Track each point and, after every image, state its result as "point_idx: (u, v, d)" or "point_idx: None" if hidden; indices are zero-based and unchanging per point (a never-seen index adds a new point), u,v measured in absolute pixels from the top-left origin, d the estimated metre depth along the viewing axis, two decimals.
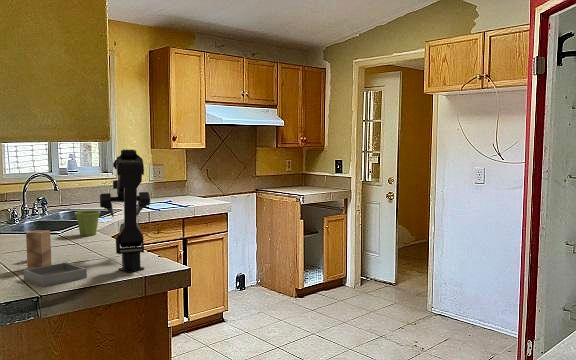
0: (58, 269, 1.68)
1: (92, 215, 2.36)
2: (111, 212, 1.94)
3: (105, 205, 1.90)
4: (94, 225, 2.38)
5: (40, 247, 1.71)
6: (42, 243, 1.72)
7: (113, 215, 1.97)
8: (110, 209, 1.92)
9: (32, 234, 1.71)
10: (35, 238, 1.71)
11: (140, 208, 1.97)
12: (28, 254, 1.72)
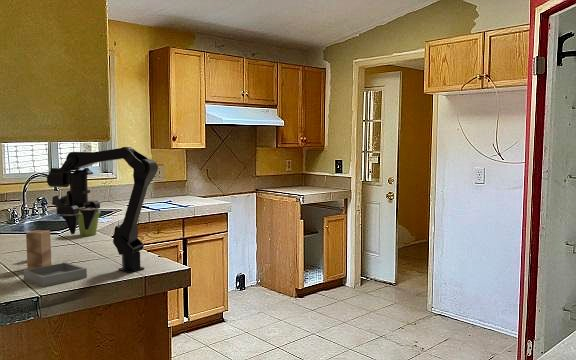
0: (58, 269, 1.68)
1: None
2: (76, 224, 1.68)
3: (76, 211, 1.65)
4: (94, 225, 2.38)
5: (40, 247, 1.71)
6: (42, 243, 1.72)
7: (75, 230, 1.69)
8: (78, 217, 1.67)
9: (32, 234, 1.71)
10: (35, 238, 1.71)
11: (94, 214, 1.79)
12: (28, 254, 1.72)
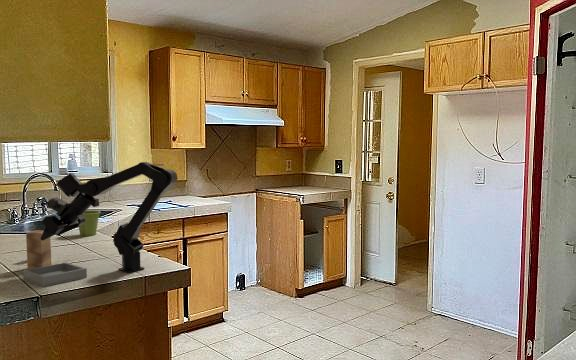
0: (58, 269, 1.68)
1: (92, 215, 2.36)
2: (50, 236, 1.68)
3: (58, 230, 1.65)
4: (94, 225, 2.38)
5: (40, 247, 1.71)
6: (42, 243, 1.72)
7: None
8: (56, 234, 1.67)
9: (32, 234, 1.71)
10: (35, 238, 1.71)
11: (73, 228, 1.79)
12: (28, 254, 1.72)
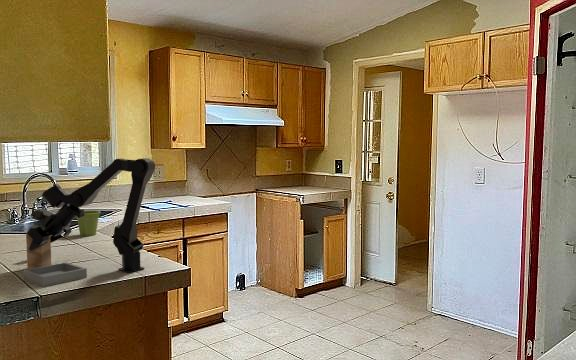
0: (58, 269, 1.68)
1: (92, 215, 2.36)
2: (39, 246, 1.71)
3: (43, 242, 1.66)
4: (94, 225, 2.38)
5: (40, 247, 1.71)
6: None
7: None
8: None
9: None
10: None
11: None
12: (28, 254, 1.72)
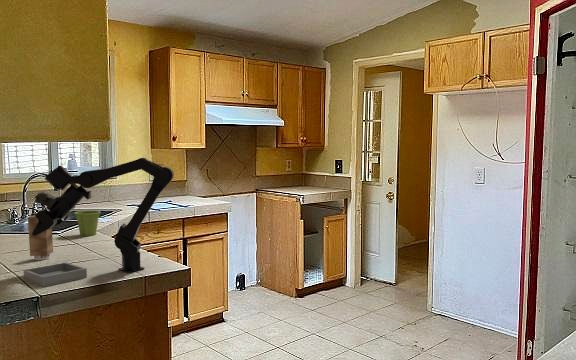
0: (58, 269, 1.68)
1: (92, 215, 2.36)
2: None
3: (53, 225, 1.60)
4: (94, 225, 2.38)
5: (44, 231, 1.64)
6: None
7: None
8: None
9: (35, 218, 1.64)
10: None
11: (57, 224, 1.71)
12: (31, 240, 1.64)
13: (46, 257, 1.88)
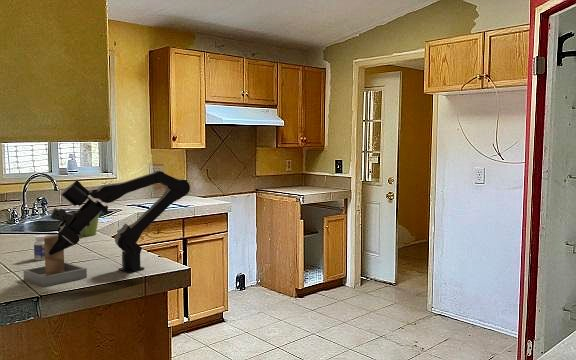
0: None
1: None
2: None
3: None
4: (94, 225, 2.38)
5: (62, 252, 1.59)
6: None
7: (54, 252, 1.56)
8: None
9: (52, 239, 1.57)
10: None
11: None
12: (47, 262, 1.57)
13: None
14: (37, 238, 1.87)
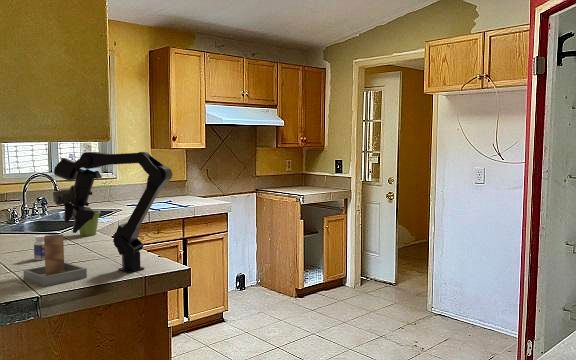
0: None
1: None
2: None
3: None
4: (94, 225, 2.38)
5: (62, 252, 1.59)
6: (63, 249, 1.59)
7: (77, 229, 1.71)
8: None
9: (52, 239, 1.57)
10: (56, 243, 1.58)
11: None
12: (47, 262, 1.57)
13: None
14: (37, 238, 1.87)
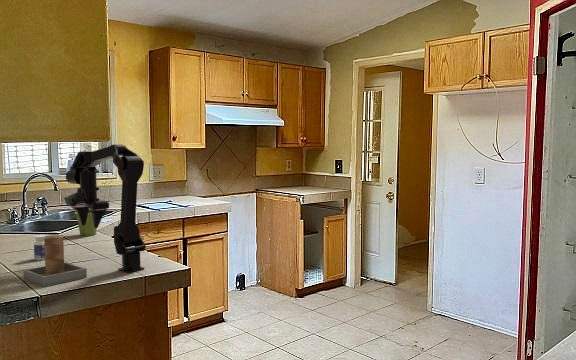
0: None
1: None
2: None
3: None
4: None
5: (62, 252, 1.59)
6: (63, 248, 1.59)
7: None
8: None
9: (52, 239, 1.57)
10: (56, 243, 1.58)
11: None
12: (47, 262, 1.57)
13: None
14: (37, 238, 1.87)
